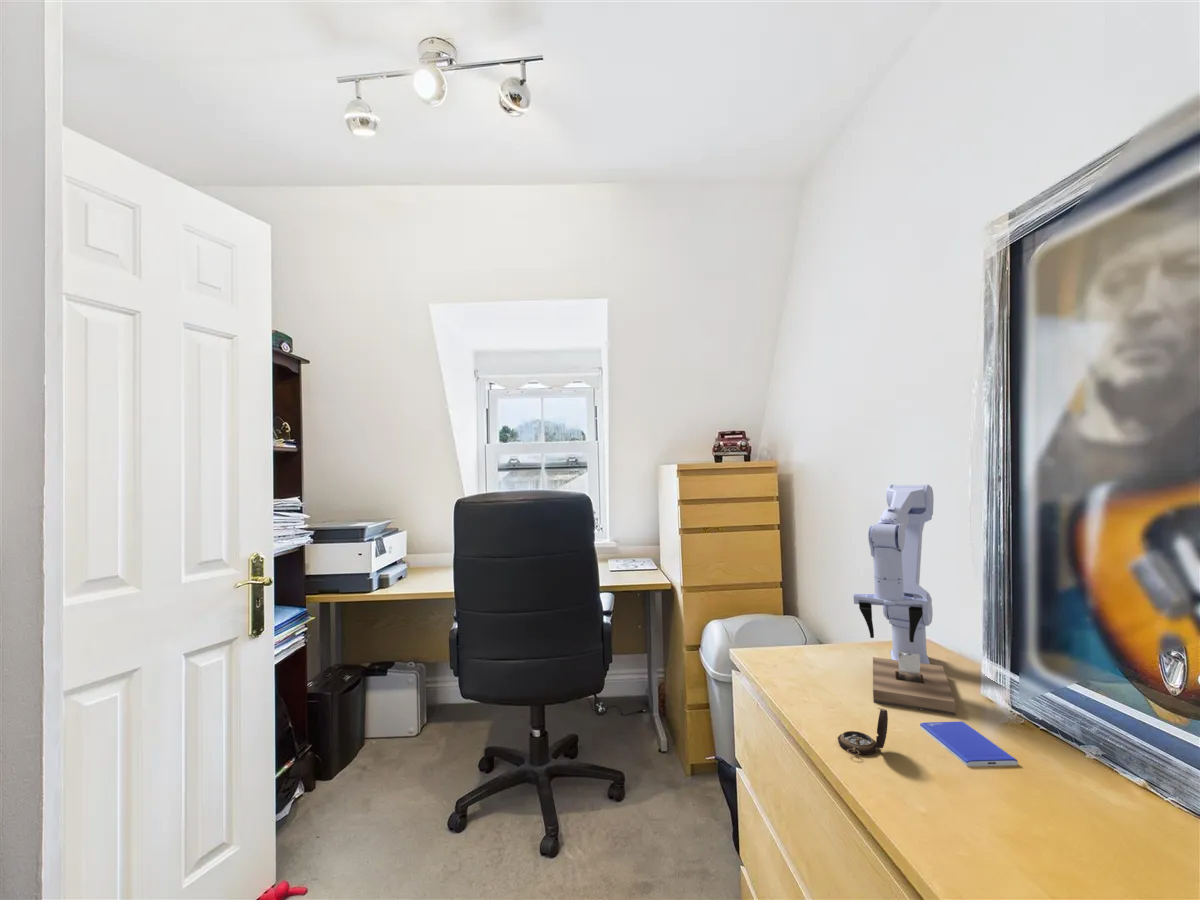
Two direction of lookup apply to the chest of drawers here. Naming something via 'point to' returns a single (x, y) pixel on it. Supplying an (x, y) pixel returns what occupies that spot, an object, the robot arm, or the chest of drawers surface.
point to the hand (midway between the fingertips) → (891, 638)
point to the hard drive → (967, 744)
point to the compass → (865, 738)
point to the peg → (909, 666)
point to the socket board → (912, 687)
